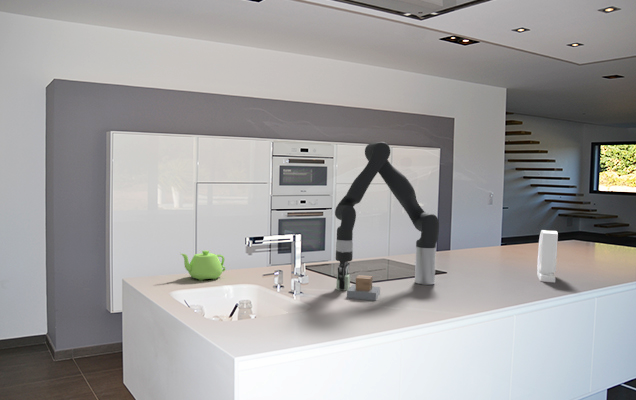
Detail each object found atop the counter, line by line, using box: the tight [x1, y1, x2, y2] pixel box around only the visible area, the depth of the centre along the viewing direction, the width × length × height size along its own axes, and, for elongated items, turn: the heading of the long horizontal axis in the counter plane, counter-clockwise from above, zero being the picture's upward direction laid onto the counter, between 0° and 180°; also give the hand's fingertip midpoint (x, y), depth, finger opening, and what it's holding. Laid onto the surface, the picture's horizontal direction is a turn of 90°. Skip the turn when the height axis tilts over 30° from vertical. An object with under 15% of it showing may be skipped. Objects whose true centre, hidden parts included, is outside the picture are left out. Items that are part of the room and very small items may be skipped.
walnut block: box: [355, 274, 373, 291], centre depth 220 cm, size 6×6×5 cm
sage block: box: [335, 274, 351, 291], centre depth 233 cm, size 5×5×6 cm
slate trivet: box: [346, 284, 381, 301], centre depth 221 cm, size 12×12×3 cm
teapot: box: [180, 249, 226, 281], centre depth 247 cm, size 22×15×13 cm
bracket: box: [536, 229, 559, 283], centre depth 268 cm, size 7×21×25 cm, turn 162°
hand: (343, 287), depth 233 cm, fingers closed on sage block, 5 cm apart
